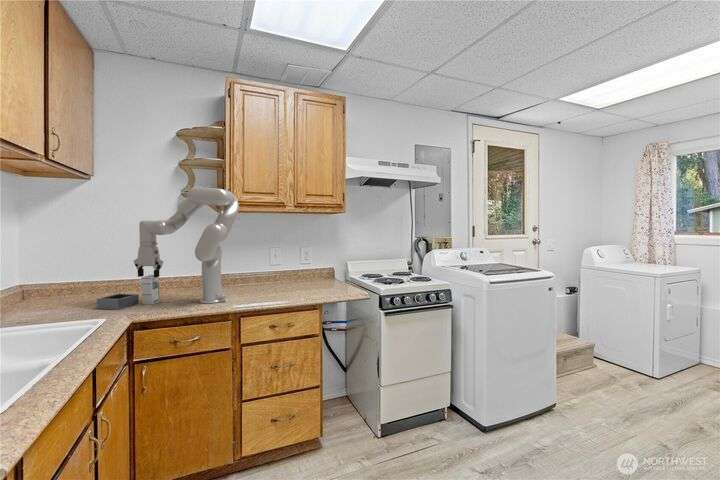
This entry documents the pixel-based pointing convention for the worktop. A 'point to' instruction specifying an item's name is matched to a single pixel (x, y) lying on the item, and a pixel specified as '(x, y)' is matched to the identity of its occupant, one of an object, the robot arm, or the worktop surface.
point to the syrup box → (150, 289)
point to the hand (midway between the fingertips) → (148, 276)
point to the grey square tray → (117, 301)
